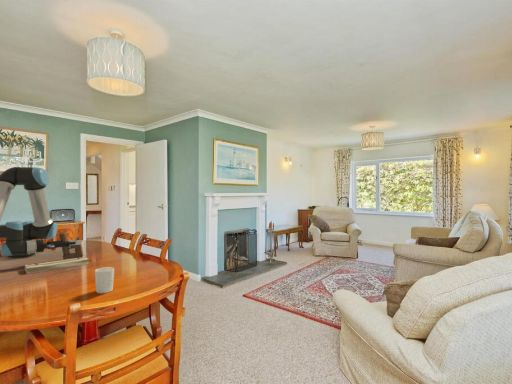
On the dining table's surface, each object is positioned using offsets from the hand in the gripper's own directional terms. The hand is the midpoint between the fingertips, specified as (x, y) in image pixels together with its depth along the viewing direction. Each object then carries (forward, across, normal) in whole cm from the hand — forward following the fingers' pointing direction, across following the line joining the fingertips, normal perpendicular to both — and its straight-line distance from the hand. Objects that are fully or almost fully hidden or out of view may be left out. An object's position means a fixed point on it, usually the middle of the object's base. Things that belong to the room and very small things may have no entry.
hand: (80, 241), depth 185 cm
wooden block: (-3, -2, -11) cm, 12 cm away
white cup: (-7, +72, -12) cm, 74 cm away
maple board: (-14, +11, -12) cm, 22 cm away
